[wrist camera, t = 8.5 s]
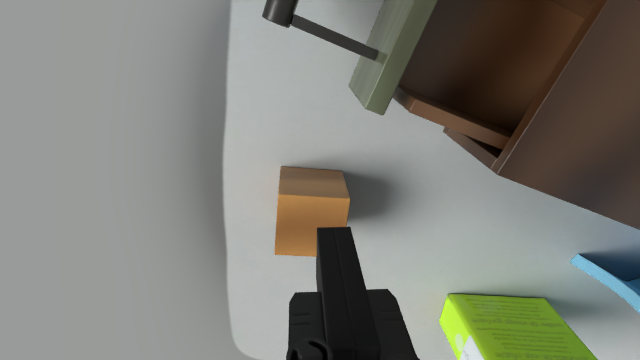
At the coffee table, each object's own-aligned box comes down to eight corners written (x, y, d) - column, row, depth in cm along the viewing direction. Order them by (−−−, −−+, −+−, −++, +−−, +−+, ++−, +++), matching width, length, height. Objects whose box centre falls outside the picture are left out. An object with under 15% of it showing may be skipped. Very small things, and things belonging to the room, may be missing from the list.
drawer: (256, 49, 25) (244, 61, 19) (319, -149, 21) (329, -218, 15) (502, 148, 29) (558, 185, 23) (595, 0, 25) (694, -4, 19)
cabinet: (442, 131, 29) (496, 174, 21) (535, -39, 25) (647, -63, 17) (584, 188, 32) (678, 244, 24) (691, 47, 28) (847, 60, 20)
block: (280, 166, 29) (278, 194, 25) (342, 170, 30) (350, 198, 25) (277, 220, 31) (274, 254, 27) (334, 223, 32) (341, 258, 27)
